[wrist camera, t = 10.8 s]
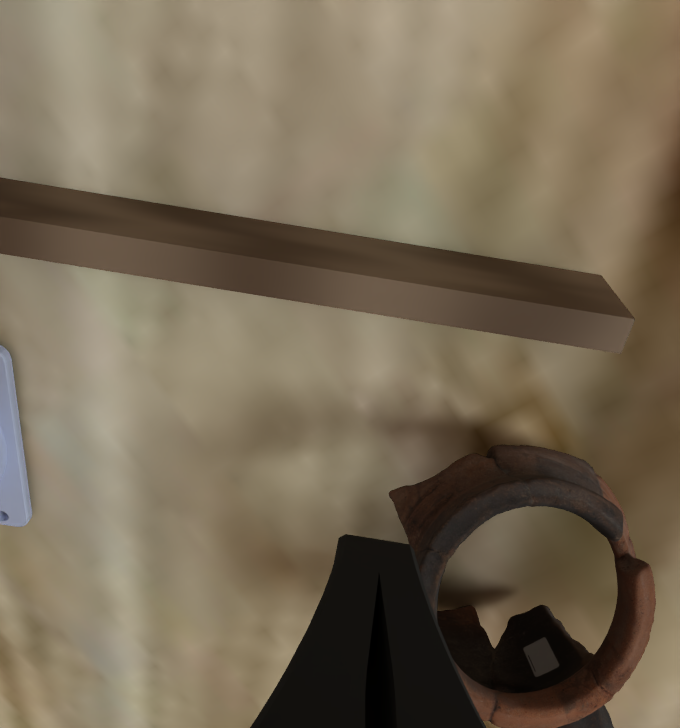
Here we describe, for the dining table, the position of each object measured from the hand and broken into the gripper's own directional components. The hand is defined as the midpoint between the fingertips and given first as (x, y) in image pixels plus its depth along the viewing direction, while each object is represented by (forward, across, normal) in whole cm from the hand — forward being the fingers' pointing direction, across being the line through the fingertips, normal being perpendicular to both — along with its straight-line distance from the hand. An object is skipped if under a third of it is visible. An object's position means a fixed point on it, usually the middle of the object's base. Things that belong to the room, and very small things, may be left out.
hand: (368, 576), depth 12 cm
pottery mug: (+10, -6, +8) cm, 14 cm away
